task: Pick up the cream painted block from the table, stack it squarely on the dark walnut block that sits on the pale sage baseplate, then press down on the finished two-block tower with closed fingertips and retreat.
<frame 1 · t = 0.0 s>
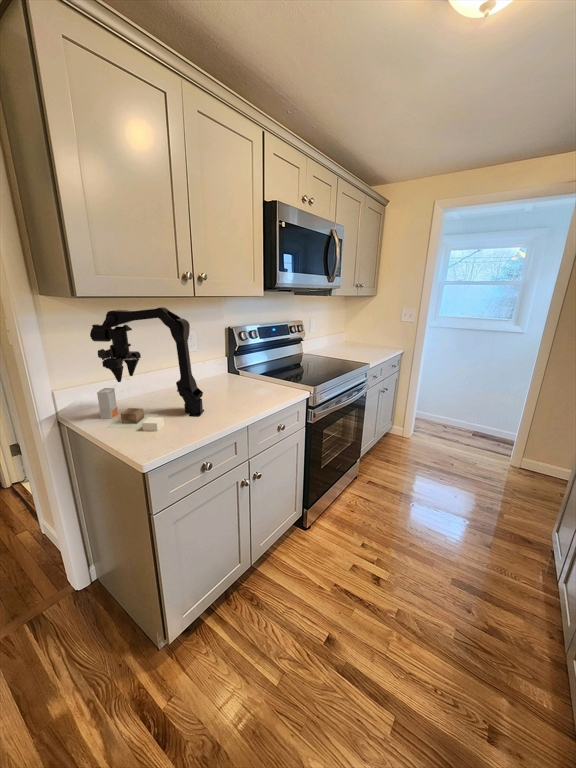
hand: (125, 378, 132), 15 cm above the worktop, fingers open, 9 cm apart
skincare box: (110, 418, 130), on the worktop
brick cream: (154, 430, 119), on the worktop
baseplate: (133, 422, 125), on the worktop
brick walnut: (133, 420, 125), point 1 cm above the worktop, touching baseplate
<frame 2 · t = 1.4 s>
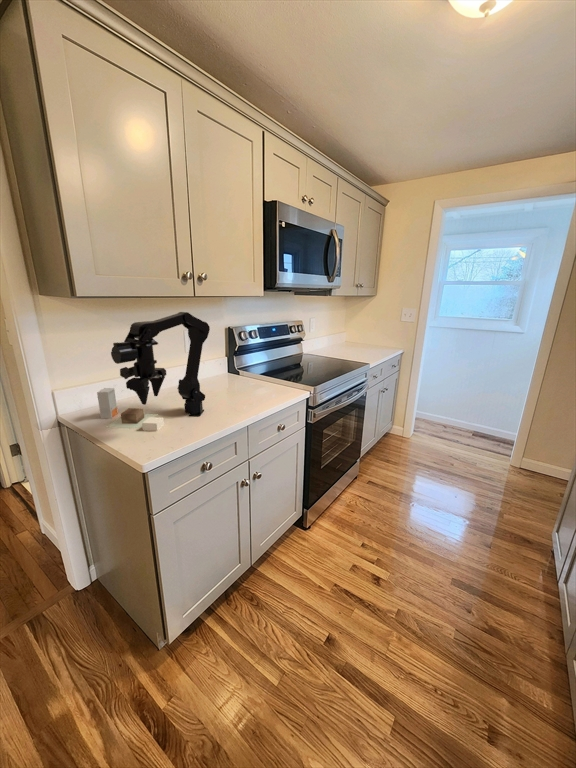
hand: (150, 400, 116), 12 cm above the worktop, fingers open, 9 cm apart
nothing on the worktop moved.
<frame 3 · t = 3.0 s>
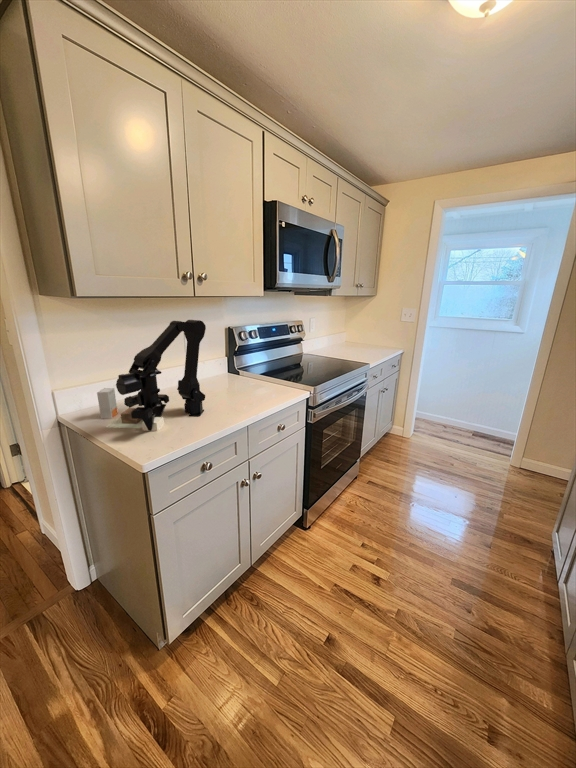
hand: (153, 427, 119), 1 cm above the worktop, fingers closed on brick cream, 5 cm apart
brick cream: (154, 429, 119), on the worktop, touching gripper
everything else where it was.
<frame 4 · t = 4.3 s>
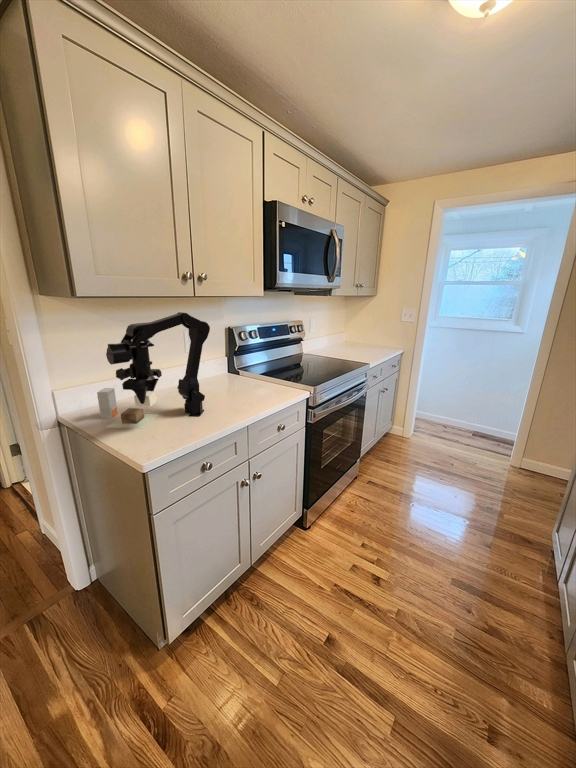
hand: (146, 400, 117), 11 cm above the worktop, fingers closed on brick cream, 5 cm apart
brick cream: (146, 403, 118), point 10 cm above the worktop, touching gripper
everything else where it was.
when the fingers open (7 cm above the worktop, at t = 5.9 s): brick cream stays where it is, resting on brick walnut.
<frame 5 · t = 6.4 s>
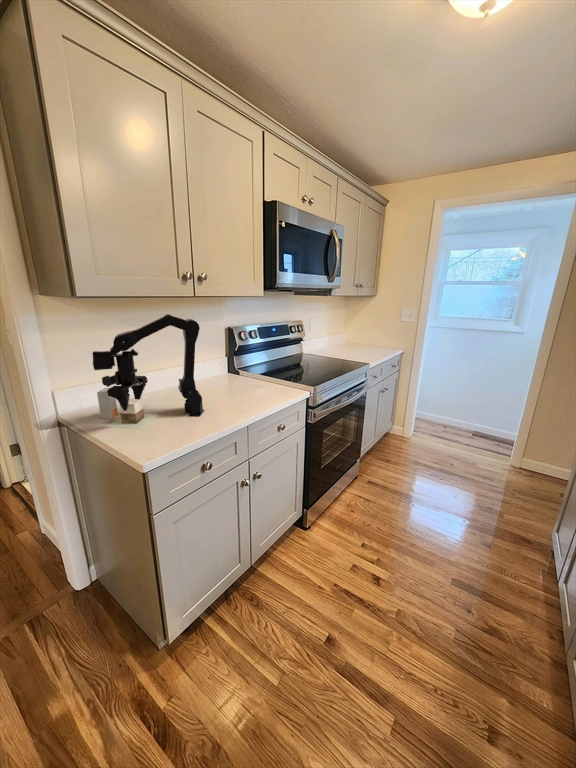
hand: (131, 406, 124), 7 cm above the worktop, fingers open, 9 cm apart
brick cream: (132, 411, 124), point 5 cm above the worktop, touching brick walnut
brick walnut: (133, 420, 125), point 1 cm above the worktop, touching baseplate, brick cream
everything else where it was.
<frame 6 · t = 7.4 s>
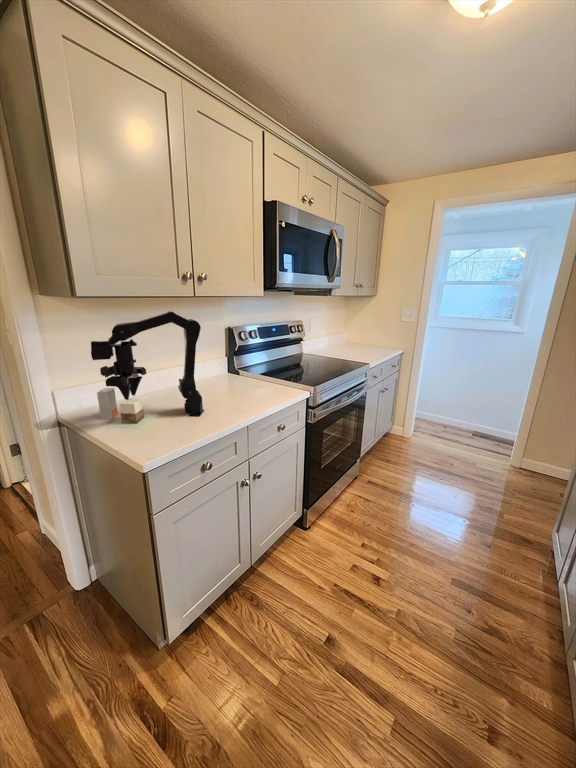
hand: (130, 397, 122), 10 cm above the worktop, fingers open, 5 cm apart
nothing on the worktop moved.
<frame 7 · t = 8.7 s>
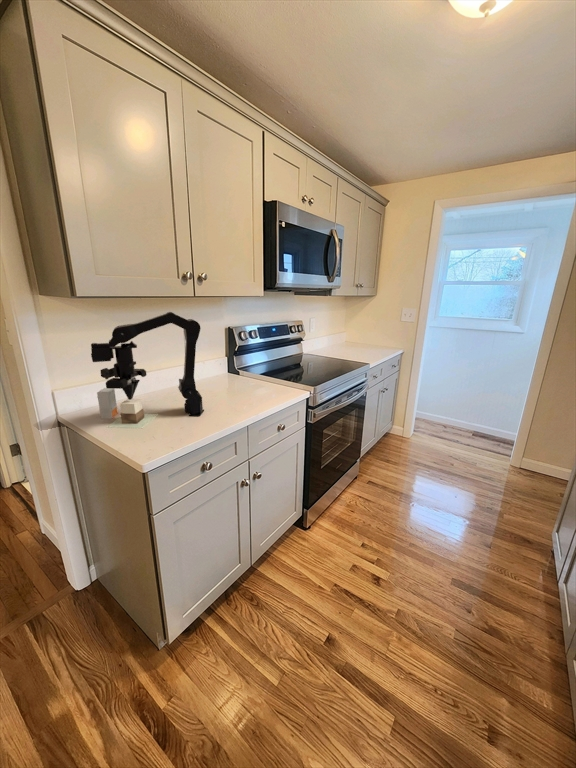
hand: (130, 399, 123), 10 cm above the worktop, fingers closed
nothing on the worktop moved.
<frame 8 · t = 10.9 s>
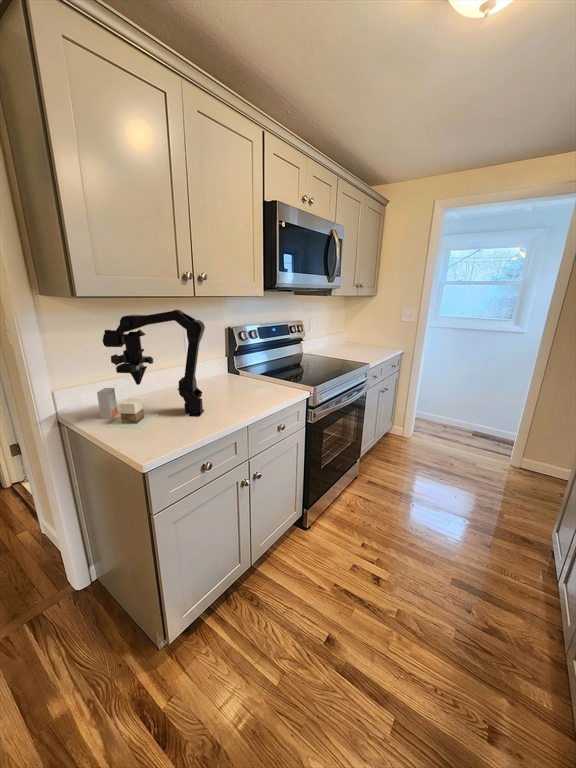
hand: (138, 384, 130), 13 cm above the worktop, fingers closed
nothing on the worktop moved.
at the end: brick cream 0.0 cm off-centre on the brick walnut, point 4.0 cm above the brick walnut's base; brick cream tilted 0°; brick walnut tilted 0° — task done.
